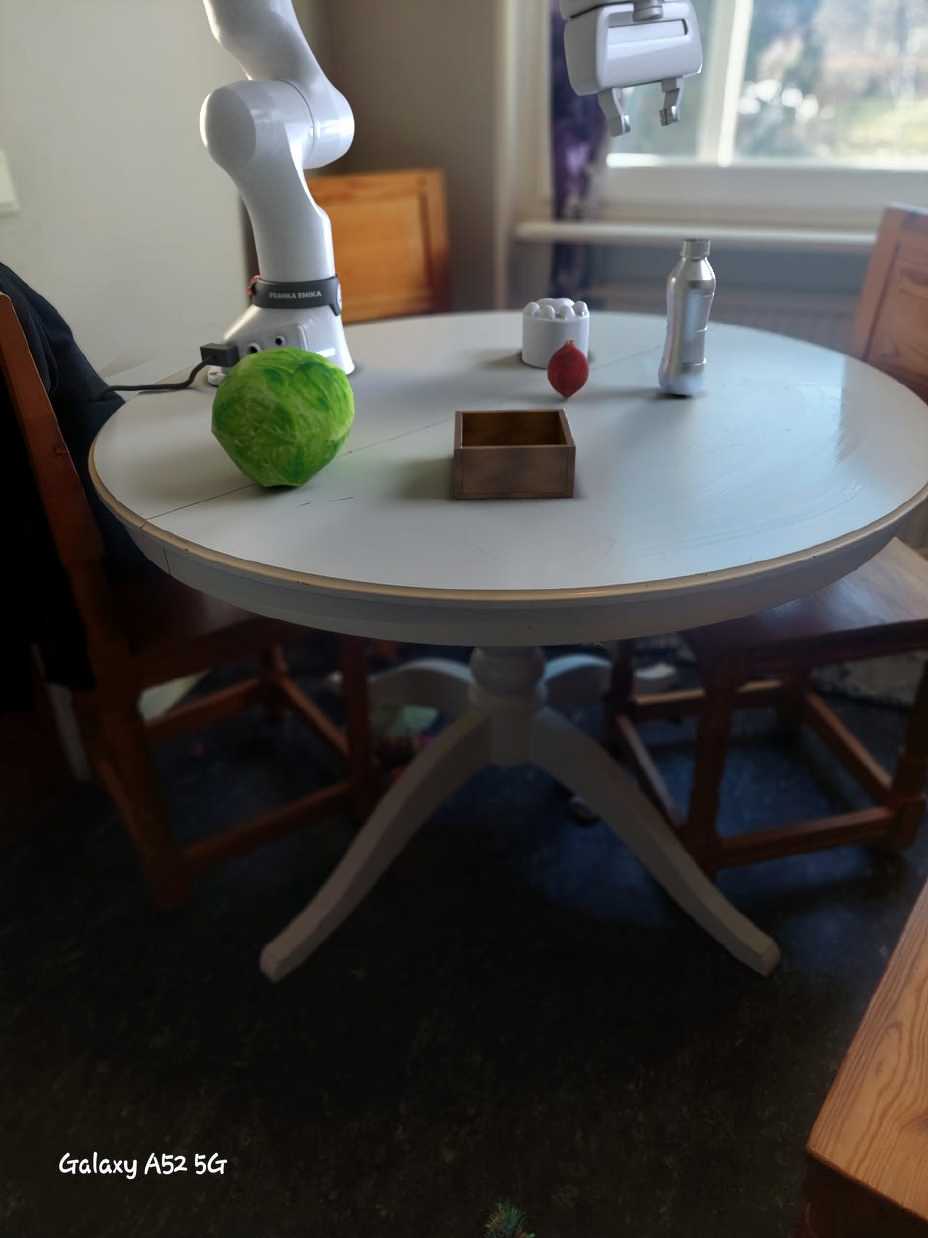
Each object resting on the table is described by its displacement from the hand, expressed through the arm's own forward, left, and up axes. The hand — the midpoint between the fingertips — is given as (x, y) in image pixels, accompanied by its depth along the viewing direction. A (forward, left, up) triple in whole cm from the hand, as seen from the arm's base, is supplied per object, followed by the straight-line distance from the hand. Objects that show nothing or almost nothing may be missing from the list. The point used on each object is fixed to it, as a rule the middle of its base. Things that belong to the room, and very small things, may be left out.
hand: (646, 129), depth 101 cm
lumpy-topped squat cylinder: (-7, +26, -33) cm, 43 cm away
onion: (-7, +5, -33) cm, 34 cm away
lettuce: (-41, -19, -33) cm, 56 cm away
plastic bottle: (+9, +6, -33) cm, 35 cm away
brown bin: (-16, -24, -33) cm, 44 cm away
